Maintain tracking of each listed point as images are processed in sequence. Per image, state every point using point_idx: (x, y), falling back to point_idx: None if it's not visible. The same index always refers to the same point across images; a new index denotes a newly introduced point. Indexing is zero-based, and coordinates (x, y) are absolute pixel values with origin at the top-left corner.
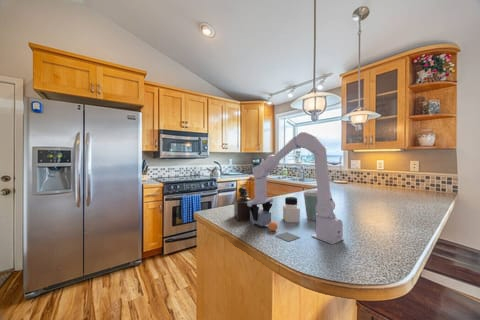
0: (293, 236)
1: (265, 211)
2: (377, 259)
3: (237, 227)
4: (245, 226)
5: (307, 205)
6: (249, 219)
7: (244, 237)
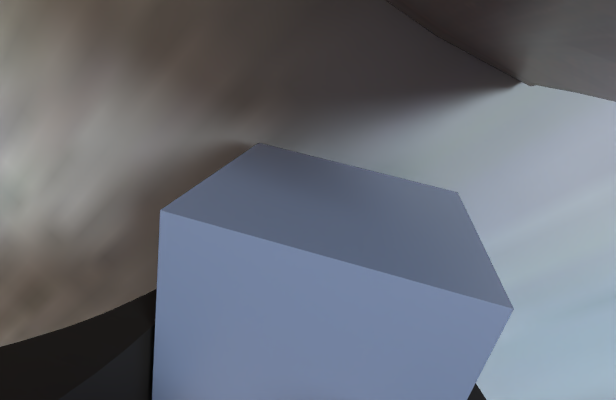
0: None
1: None
2: None
3: (68, 85)
4: (167, 141)
5: None
6: (398, 6)
7: (2, 303)
